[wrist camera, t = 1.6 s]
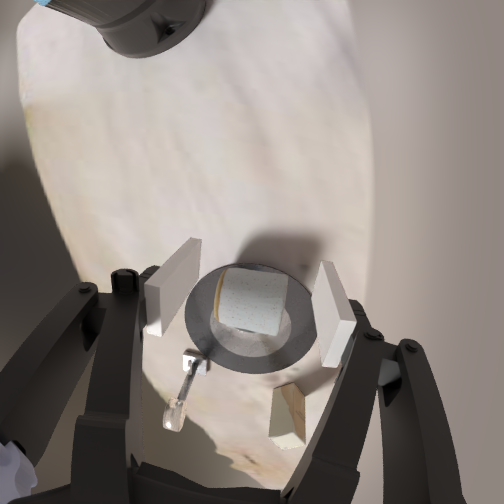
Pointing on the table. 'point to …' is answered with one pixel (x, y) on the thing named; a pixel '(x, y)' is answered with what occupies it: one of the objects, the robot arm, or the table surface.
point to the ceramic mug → (251, 300)
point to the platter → (248, 344)
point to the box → (287, 417)
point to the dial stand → (184, 391)
